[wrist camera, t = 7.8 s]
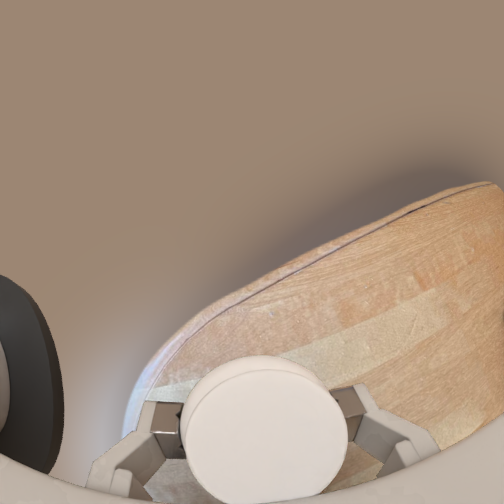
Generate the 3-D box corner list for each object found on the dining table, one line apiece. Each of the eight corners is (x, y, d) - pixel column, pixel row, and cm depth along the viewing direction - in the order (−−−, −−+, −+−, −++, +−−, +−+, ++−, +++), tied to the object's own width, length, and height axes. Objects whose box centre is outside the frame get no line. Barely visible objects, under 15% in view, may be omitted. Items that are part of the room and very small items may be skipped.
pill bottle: (196, 375, 15) (139, 354, 6) (288, 360, 16) (349, 317, 7) (213, 462, 12) (182, 541, 4) (307, 444, 13) (387, 496, 4)
